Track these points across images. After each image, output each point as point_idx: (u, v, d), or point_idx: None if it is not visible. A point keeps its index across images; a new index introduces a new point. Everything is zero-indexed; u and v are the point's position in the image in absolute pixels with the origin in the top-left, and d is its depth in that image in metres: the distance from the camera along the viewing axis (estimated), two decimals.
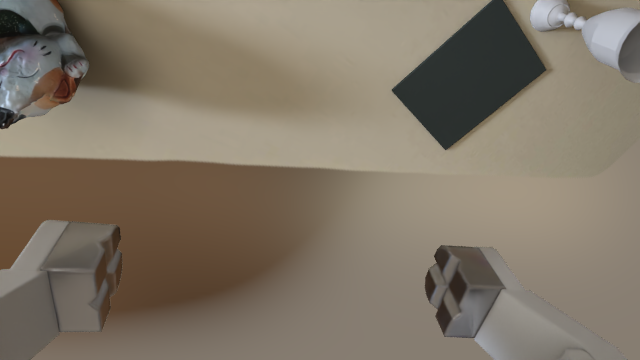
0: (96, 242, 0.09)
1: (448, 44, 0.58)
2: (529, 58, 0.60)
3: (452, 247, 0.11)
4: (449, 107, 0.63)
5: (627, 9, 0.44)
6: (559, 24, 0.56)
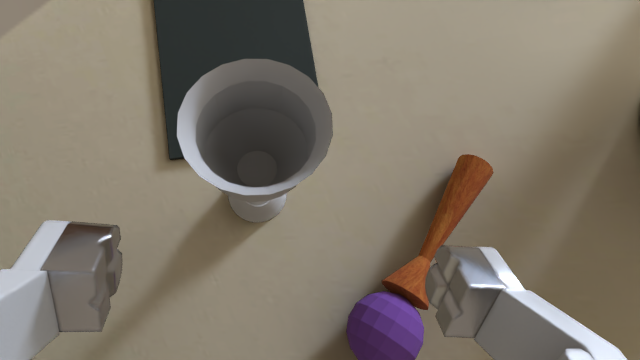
0: (96, 242, 0.09)
1: (308, 56, 0.41)
2: None
3: (452, 247, 0.11)
4: (217, 14, 0.40)
5: None
6: None
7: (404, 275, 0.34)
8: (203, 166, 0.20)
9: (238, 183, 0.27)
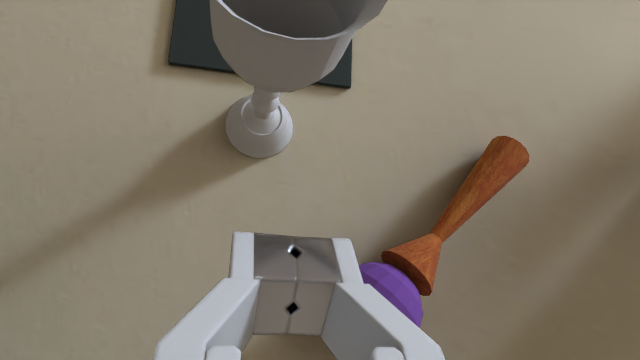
0: (286, 252, 0.10)
1: None
2: (217, 55, 0.32)
3: (300, 238, 0.10)
4: None
5: (339, 59, 0.19)
6: (246, 107, 0.30)
7: (411, 248, 0.28)
8: None
9: None
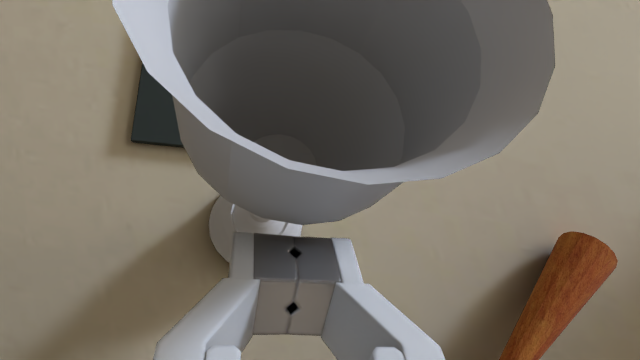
0: (286, 252, 0.10)
1: None
2: None
3: (300, 238, 0.10)
4: None
5: None
6: None
7: None
8: (171, 65, 0.06)
9: None
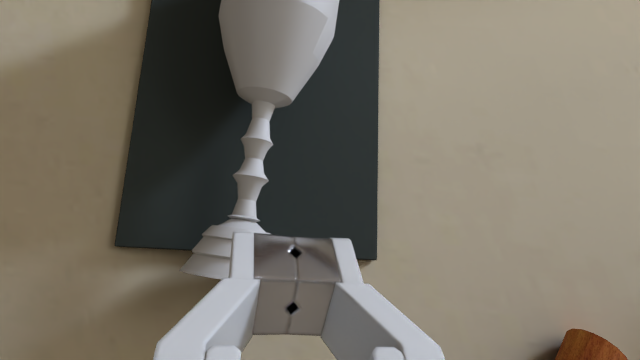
0: (286, 252, 0.10)
1: (371, 120, 0.26)
2: (187, 229, 0.22)
3: (300, 238, 0.10)
4: None
5: None
6: None
7: None
8: None
9: (236, 73, 0.22)
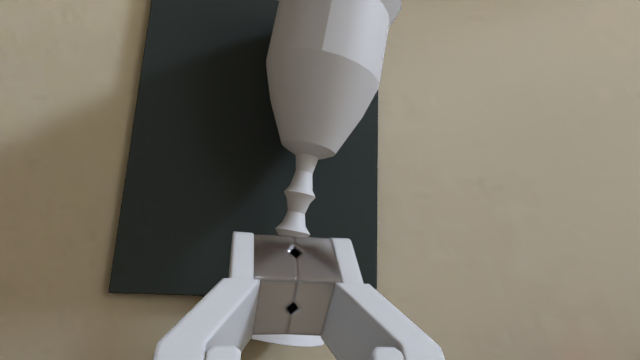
0: (286, 252, 0.10)
1: (371, 155, 0.26)
2: (182, 273, 0.22)
3: (300, 238, 0.10)
4: (245, 60, 0.25)
5: (380, 76, 0.23)
6: None
7: None
8: None
9: (299, 123, 0.21)
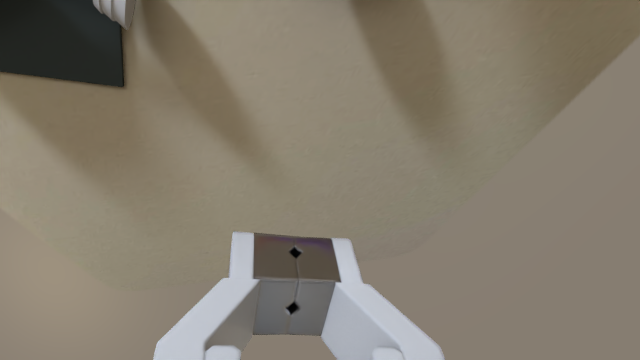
0: (286, 252, 0.10)
1: None
2: (106, 45, 0.34)
3: (300, 238, 0.10)
4: None
5: None
6: None
7: None
8: None
9: None
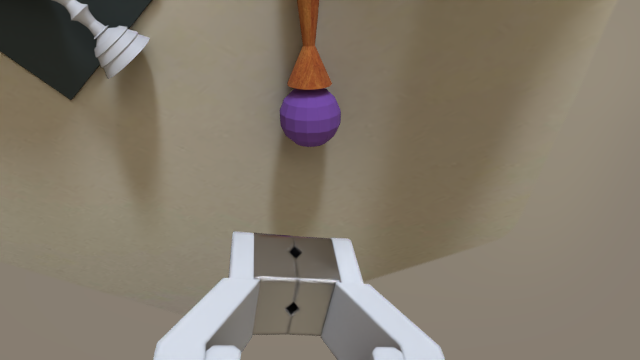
0: (286, 252, 0.10)
1: None
2: (80, 67, 0.39)
3: (300, 238, 0.10)
4: None
5: None
6: (96, 46, 0.36)
7: (298, 75, 0.39)
8: None
9: None
